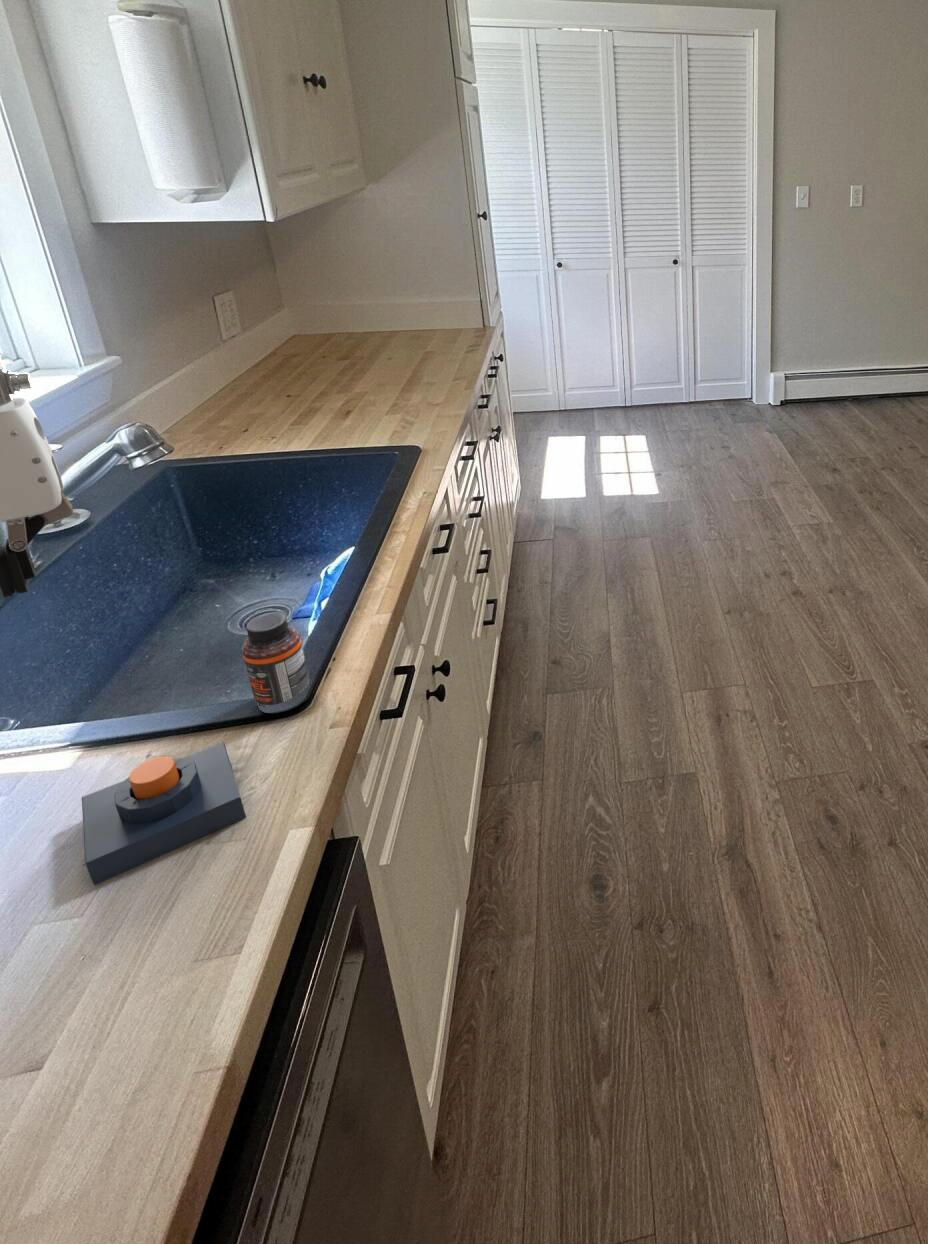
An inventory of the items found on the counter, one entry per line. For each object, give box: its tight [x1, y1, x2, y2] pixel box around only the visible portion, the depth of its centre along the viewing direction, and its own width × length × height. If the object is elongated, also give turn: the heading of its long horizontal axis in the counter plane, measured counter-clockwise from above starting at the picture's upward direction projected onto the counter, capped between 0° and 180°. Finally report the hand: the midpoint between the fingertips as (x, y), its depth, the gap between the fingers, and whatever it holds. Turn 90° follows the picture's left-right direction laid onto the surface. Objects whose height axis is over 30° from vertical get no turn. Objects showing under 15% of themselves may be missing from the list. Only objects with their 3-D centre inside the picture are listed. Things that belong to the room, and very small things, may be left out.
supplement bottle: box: [241, 611, 311, 707], centre depth 93 cm, size 6×6×11 cm
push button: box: [128, 755, 179, 800], centre depth 77 cm, size 4×4×2 cm
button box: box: [81, 741, 247, 886], centre depth 78 cm, size 12×10×4 cm
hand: (17, 588), depth 72 cm, fingers closed
